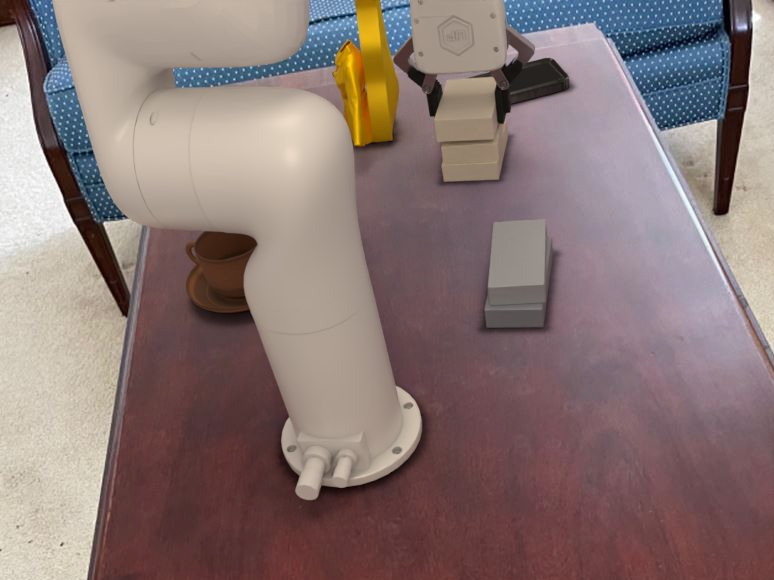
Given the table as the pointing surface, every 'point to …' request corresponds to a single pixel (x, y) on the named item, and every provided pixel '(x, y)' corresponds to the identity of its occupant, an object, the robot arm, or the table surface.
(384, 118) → the figure statuette
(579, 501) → the table surface
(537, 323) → the grey stack
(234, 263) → the cup and saucer
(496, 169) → the cream stack
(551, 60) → the phone
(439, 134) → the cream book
